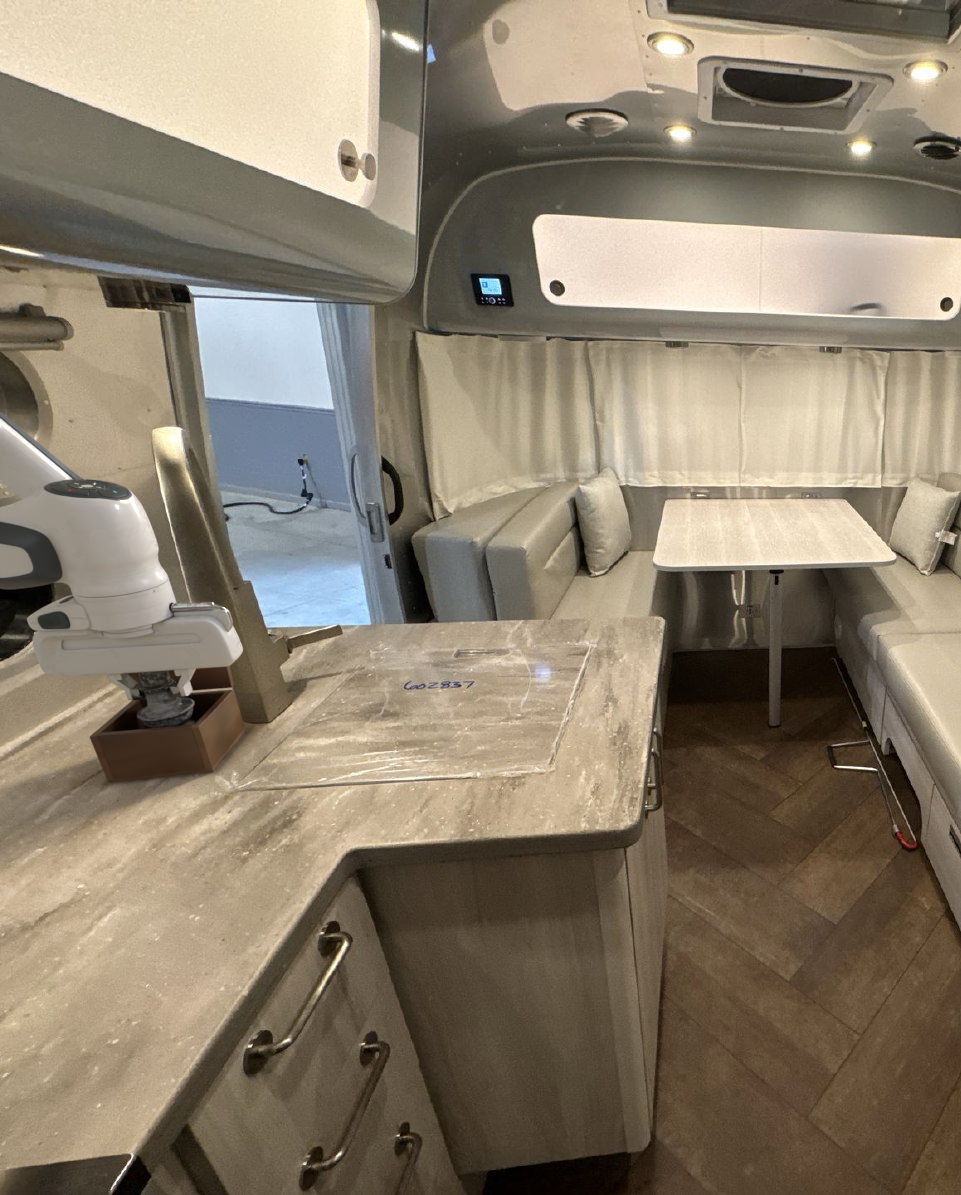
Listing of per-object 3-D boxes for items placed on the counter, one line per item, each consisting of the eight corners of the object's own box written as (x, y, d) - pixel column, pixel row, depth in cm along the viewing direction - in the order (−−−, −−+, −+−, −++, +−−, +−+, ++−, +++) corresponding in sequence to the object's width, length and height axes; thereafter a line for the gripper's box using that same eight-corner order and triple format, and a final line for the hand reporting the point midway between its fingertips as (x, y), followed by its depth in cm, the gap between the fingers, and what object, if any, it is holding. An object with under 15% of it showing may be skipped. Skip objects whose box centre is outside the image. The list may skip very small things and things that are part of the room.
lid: (215, 618, 92) (232, 608, 96) (113, 623, 88) (135, 612, 93) (231, 687, 95) (247, 675, 99) (133, 695, 91) (153, 681, 96)
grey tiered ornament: (133, 737, 88) (104, 661, 84) (180, 715, 94) (155, 642, 89) (166, 745, 87) (138, 669, 83) (212, 723, 93) (188, 649, 88)
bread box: (214, 773, 90) (198, 727, 87) (108, 784, 86) (88, 736, 83) (246, 733, 98) (233, 689, 96) (152, 741, 95) (136, 696, 92)
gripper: (237, 592, 89) (261, 678, 94) (46, 599, 83) (83, 691, 88) (214, 610, 84) (241, 701, 89) (8, 619, 77) (50, 716, 83)
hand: (161, 696), depth 88 cm, fingers closed on grey tiered ornament, 3 cm apart
